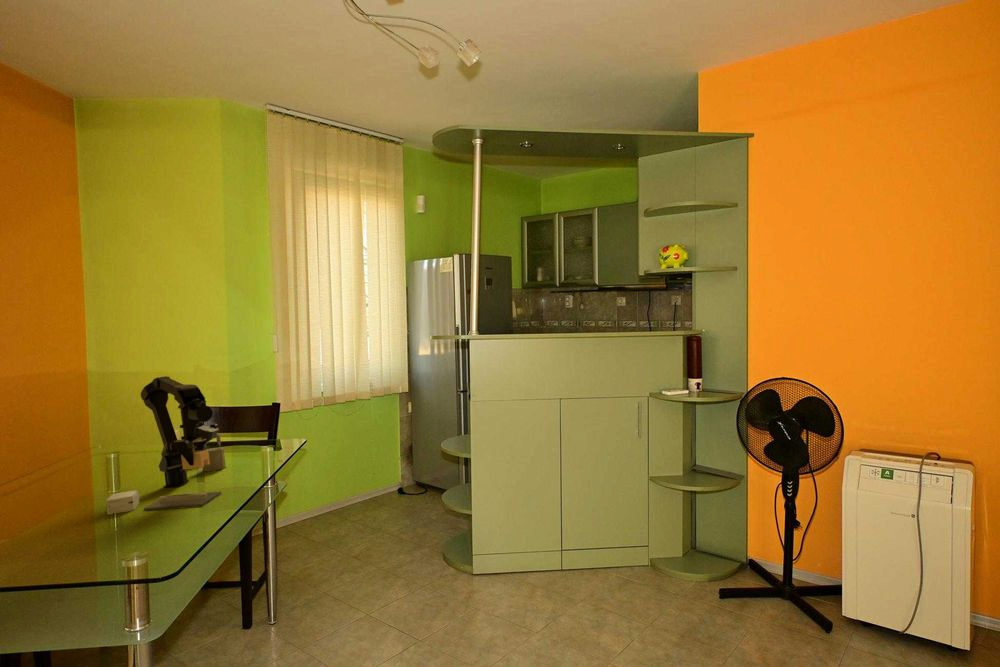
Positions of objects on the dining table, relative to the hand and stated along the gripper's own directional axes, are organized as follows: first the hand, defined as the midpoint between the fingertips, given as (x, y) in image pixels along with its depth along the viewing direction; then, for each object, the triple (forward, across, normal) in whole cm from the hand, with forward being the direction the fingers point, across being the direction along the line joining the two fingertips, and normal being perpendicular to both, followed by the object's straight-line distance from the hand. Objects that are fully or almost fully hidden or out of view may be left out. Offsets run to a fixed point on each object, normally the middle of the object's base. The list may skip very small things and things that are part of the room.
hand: (196, 463), depth 208 cm
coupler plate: (+10, -13, -2) cm, 16 cm away
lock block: (+1, 0, 0) cm, 1 cm away
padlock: (+10, +27, +9) cm, 30 cm away
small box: (+10, -15, +17) cm, 25 cm away
